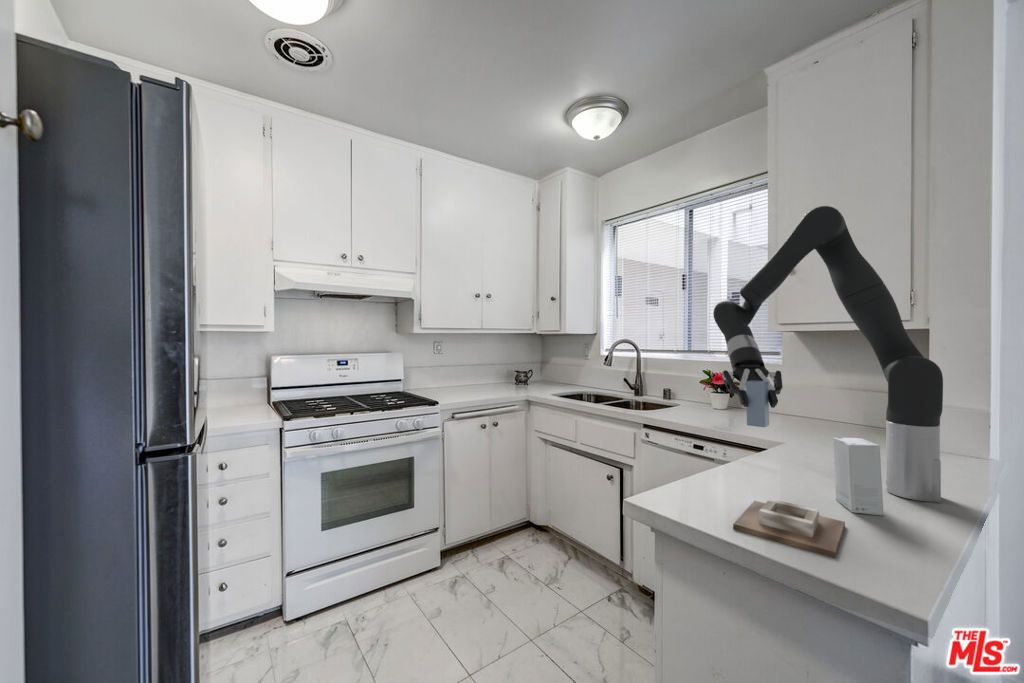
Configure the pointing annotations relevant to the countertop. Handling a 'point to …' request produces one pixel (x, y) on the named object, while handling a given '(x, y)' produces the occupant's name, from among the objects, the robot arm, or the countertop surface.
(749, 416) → the plug
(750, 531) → the socket board
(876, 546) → the countertop surface
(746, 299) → the robot arm
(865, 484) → the skincare box
